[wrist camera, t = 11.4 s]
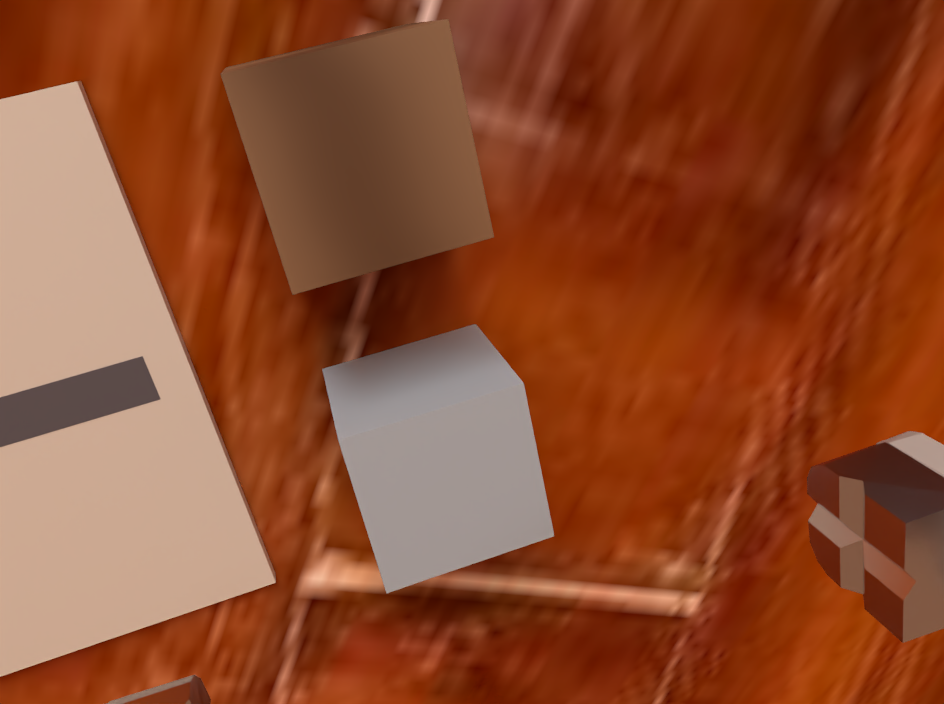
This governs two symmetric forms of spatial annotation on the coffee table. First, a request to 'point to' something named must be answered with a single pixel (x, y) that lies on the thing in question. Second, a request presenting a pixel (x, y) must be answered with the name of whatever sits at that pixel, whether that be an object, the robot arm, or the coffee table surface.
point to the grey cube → (439, 454)
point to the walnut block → (361, 152)
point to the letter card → (98, 409)
